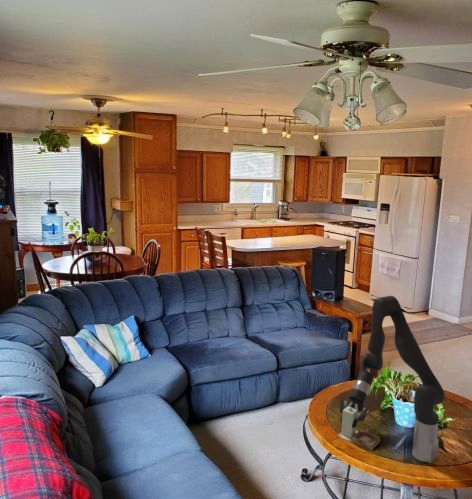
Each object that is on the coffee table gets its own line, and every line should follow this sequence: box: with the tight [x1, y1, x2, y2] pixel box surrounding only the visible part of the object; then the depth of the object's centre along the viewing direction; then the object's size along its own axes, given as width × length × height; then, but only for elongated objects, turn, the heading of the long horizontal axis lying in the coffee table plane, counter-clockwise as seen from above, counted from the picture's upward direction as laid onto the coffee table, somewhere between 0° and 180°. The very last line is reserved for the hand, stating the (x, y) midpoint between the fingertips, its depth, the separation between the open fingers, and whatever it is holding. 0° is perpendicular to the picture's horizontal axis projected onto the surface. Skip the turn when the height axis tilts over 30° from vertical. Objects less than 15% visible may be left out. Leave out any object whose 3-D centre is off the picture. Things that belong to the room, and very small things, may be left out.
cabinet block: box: [340, 405, 357, 438], centre depth 211 cm, size 5×5×13 cm
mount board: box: [337, 429, 381, 451], centre depth 209 cm, size 17×10×3 cm, turn 50°
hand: (347, 425), depth 210 cm, fingers closed on cabinet block, 5 cm apart
